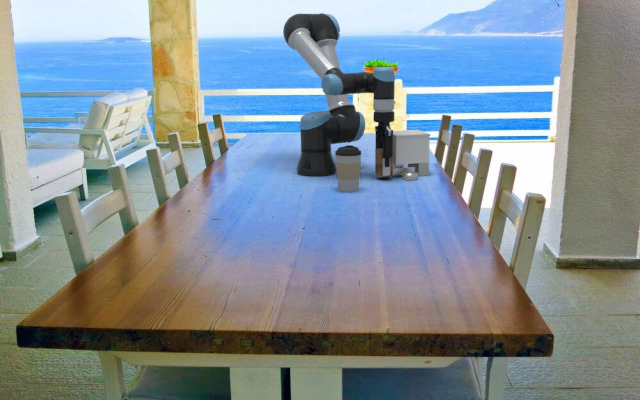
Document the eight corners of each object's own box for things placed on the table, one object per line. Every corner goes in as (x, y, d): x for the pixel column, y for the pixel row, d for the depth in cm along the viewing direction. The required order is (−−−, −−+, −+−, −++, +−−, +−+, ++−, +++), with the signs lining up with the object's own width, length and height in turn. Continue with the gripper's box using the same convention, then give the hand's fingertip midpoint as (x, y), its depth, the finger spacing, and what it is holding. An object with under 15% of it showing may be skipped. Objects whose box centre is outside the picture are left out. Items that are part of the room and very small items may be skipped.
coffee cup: (359, 193, 232) (359, 149, 228) (333, 192, 233) (332, 148, 230) (363, 187, 240) (363, 144, 237) (337, 186, 242) (337, 144, 239)
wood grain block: (379, 177, 251) (379, 150, 248) (375, 175, 255) (375, 148, 253) (417, 175, 254) (417, 148, 252) (412, 172, 259) (412, 146, 256)
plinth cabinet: (395, 177, 255) (395, 135, 252) (385, 171, 267) (385, 131, 263) (429, 175, 258) (430, 133, 255) (417, 169, 270) (418, 129, 266)
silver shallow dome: (407, 181, 249) (407, 175, 248) (398, 178, 254) (398, 172, 254) (421, 180, 251) (421, 173, 251) (412, 177, 257) (412, 170, 256)
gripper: (402, 112, 240) (401, 177, 246) (385, 108, 258) (385, 169, 263) (381, 113, 239) (381, 179, 244) (366, 109, 256) (366, 170, 261)
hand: (383, 173), depth 253 cm, fingers closed on wood grain block, 5 cm apart
